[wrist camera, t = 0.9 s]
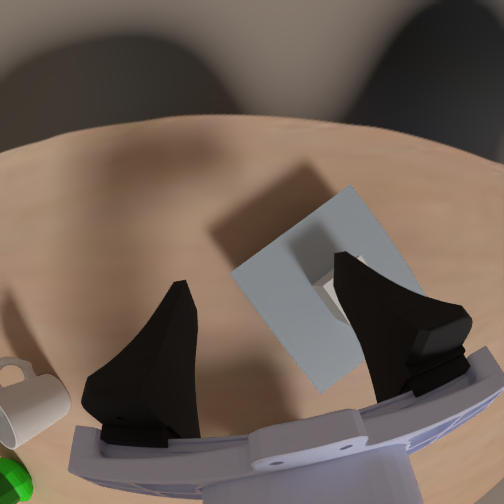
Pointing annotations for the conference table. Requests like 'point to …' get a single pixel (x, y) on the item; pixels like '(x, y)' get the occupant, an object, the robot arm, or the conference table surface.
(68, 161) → the conference table surface
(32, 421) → the mug
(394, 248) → the bin lid
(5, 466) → the plastic bottle
